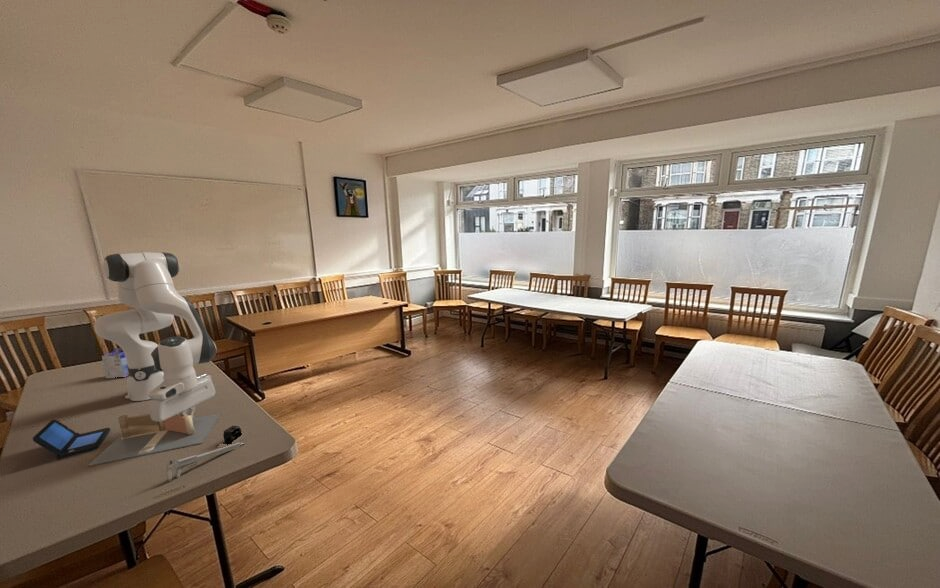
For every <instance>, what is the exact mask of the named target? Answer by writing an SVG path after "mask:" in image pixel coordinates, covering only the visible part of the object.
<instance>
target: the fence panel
mask: <svg viewBox="0 0 940 588" xmlns="http://www.w3.org/2000/svg"><path fill="white" fill-rule="evenodd" d="M164 423H165V428H166V430H169V431H175V432H180V433H185V434H188V435H190V434H193V433H194V426H193V421H192V416H191V415H188V416H182V415H180V414H176V415H174V416H172V417H170V418H168V419H166V420H164Z"/></svg>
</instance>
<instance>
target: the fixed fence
mask: <svg viewBox="0 0 940 588" xmlns="http://www.w3.org/2000/svg"><path fill="white" fill-rule="evenodd" d="M117 419H118V423H119V427H120V431H121V435H122V436H123V438H127V437H130V436H134V435H139V434H144V433H150V432H155V431H160V430H161V431H164V430H166V428H165V423H164V421H162V422H157V421H153V420H152V419H151V417H150V413H146V414H140V415H134V416H130V417H129V415H128V414H125V415H120V416H119V417H117Z"/></svg>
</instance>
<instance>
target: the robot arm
mask: <svg viewBox="0 0 940 588" xmlns="http://www.w3.org/2000/svg"><path fill="white" fill-rule="evenodd" d="M101 268H102V272H103V274H104V275H105V276H106V279H108V280H110V281H111V282H117V298H118V301H119V302H120V303H122V304H123V305H124V306H127V307H129V308H132V309H129V310H128V309H127V310H122V311H115V312H111V313H107V314H105V315H101V316H99V317H97V318H96V320H94V321H95V322H94V325H93V330H94V332H95V334H96V335H97V336H98V337H100V338H101V339H104V340H107V341H110V342H112V343H114V344H116V345H117V346H119V348H121V351H122V352H124V354H125V356H126V359H127V363H128V374H129V376H128V379H126V388H127V394H126V395H125V396H124V398H125V399H127V400H130V401H132V402H140V401H141V402H142V401H148V400H150V401H149V405H148V410H149V414H150V417H151V419H152V420H153V421H157V422H162V421H164V420H166V419H168V418H170V417H172V416H174V415H176V414H177V415H182V416H188V415H191V416H192V419H193V418H194V413H195V411H196V406H197V405H199V404H201V403H203V402H205V401H207V400H208V399H211V398H213V397H215V395H216V389H215V386H214V383H213V380H212V376H211V375H210V374H208V373H203V374H201V375H198V376H197V371H196V369H195V368H194V365H200V364H201V365H202V364H206V363H210V362H211V361H212V360H213V359H214V358H215V356H216V355H217V346H216V343H215V342H214V340H213V339H212V337H211V336H210V334H209V332H208V330H207V329H206V326H205V324H203V323H204V322H203V321H202V319H201V317H200V315H199V314H198V311H197V310H196V307H195V306H194V305H193V303H192V301H191V300H190V299H189V298H187V297H183V296H181V294H180V293H179V292H178V290H177V289H176V288H175V287H176V286H175V284H174V281H173V278H175V277H176V276H177V275H178V274H179V272H180V262H179V260H178V258H177V257H176V255H175V254H173V253H170V252H152V251H150V252H149V251H141V252H129V253H113V254H108V255H106V256H105V258H103V261H102V266H101ZM174 316H176V317H180V318H182V319H184V321H185V322H186V324H187V325H188V327H189V329H190V331H191V333H192V336H193V337H192V338H190V339H187V338H185V337H183V336H170V337H167V338H164V339H162V340H160V341H159V342H158V344H157V343H156V342H154V341H151V340H146V339H145V340H144V339H141V338H140V335H141V334H142V335H143V334H145V333H150V332H155V331H159V330H162V329H165V328H168V327H170V326H171V325H172V324H173V321H174Z"/></svg>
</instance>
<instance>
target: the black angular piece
mask: <svg viewBox="0 0 940 588" xmlns="http://www.w3.org/2000/svg"><path fill="white" fill-rule="evenodd" d="M241 432H242V429H241V428H240V426H239V425H230V427H228V428H227V429H225V430H223V434H222V435H223V436H222V437H223V441H224V442H223V441H221V442H222V443H223V444H227V445H228V444H232V442H233V441H234V440H236V439H237V438H238V437H240V436H241V435H242V433H241ZM221 442H220V443H221ZM222 443H221V444H222Z"/></svg>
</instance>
